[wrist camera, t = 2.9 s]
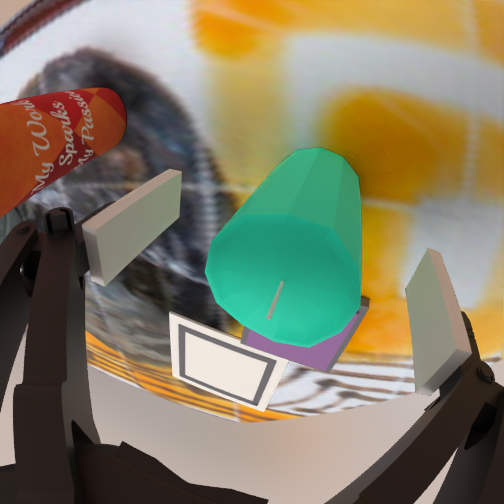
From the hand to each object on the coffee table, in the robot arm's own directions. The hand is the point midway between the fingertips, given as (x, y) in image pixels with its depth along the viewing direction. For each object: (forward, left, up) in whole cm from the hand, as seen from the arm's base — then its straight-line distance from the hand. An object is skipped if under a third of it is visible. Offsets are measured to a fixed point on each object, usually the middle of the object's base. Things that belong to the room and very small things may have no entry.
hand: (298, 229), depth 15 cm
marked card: (+4, +23, -6) cm, 24 cm away
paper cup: (+18, -2, -6) cm, 19 cm away
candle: (0, 0, -6) cm, 6 cm away
